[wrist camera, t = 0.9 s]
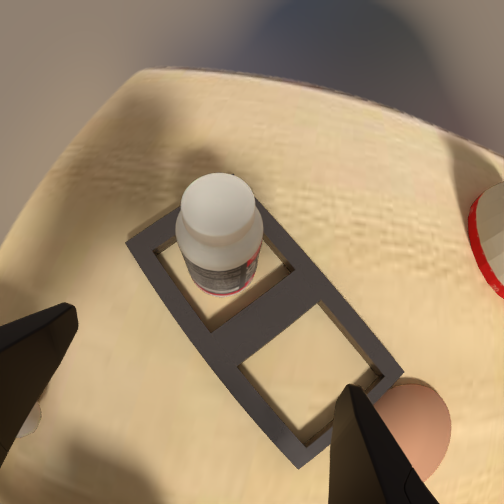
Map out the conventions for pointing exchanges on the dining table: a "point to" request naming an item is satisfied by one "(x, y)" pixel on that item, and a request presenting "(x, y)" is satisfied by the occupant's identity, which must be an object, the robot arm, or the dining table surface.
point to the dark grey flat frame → (265, 326)
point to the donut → (31, 421)
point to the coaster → (417, 425)
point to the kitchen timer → (489, 235)
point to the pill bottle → (220, 233)
